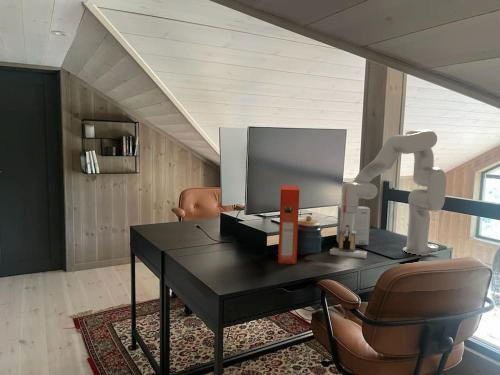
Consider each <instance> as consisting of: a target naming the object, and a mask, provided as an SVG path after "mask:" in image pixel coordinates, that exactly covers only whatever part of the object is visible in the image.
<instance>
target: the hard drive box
mask: <svg viewBox="0 0 500 375" xmlns="http://www.w3.org/2000/svg"><path fill="white" fill-rule="evenodd" d="M371 211H372V210H371V208H369V207H368V206H358V213H357V214H355V219H354V228H353V231H356V240H355V245H360V246H369V243H370V242H369V241H370V240H369V239H370V224H371ZM342 216H343V213H342V212H341V205H337V218H336V219H337V221H336V225H337V224H338V227H337V226H336V242H337V244H339V235H340V230H341V228H342Z"/></svg>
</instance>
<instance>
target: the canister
mask: <svg viewBox="0 0 500 375" xmlns="http://www.w3.org/2000/svg"><path fill="white" fill-rule="evenodd" d="M322 231H323V227H321V222H319V221H318V220H316V219H313V218H312V216H311V215H307V216H306V218H302V219H301V218H300V220H299V219H298V238H297V255H301V256H307V255H308V254H317V253H320V252H322V237H323V235H322Z"/></svg>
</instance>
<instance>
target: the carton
mask: <svg viewBox="0 0 500 375" xmlns="http://www.w3.org/2000/svg"><path fill="white" fill-rule="evenodd" d="M348 234H350V233H348ZM343 240H344V233H342V234H341V230H340V235H339V243H338V248H339V250H342V251H350V252H354V251H355V250H356V244H355V240H356V231H353V232H352V234H351V235H350V250H346V249H343Z"/></svg>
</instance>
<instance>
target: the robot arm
mask: <svg viewBox="0 0 500 375" xmlns="http://www.w3.org/2000/svg"><path fill="white" fill-rule="evenodd" d="M437 142H438V136H437V133H436V132H435V131H434V130H430V129H414V130H413V129H412V130H409V131H406V132H405V133H404V134H395V135H394V134H393V135H391V136H390V137H388V138H387V140H386V141H385V143H384V144H383V146H382V147H381V149H380V150H379V152H378V153H377V155H376V156H375V158H374V159H373V160H372V161H371V162H369V163H368V164H367V165H366V166H364V168H362V169H361V170H360V171H359V172H358V174H357V175H356V177H355V178H354V180H353V181H352V182H351V181H347V182H345V181H344V182H343V184H342V186H341V187H342V188H341V189H342V191H341V202H340V203H341V205H340V206H341V212H342V213H343V216H342V228H341V234H342V233H344V240H343V249H346V250H350V235H351V234H352V232H353V228H354V219H355V214H357V213H358V207H359V199H365V200H371V199H375V198H376V196H377V195H378V190H379V189H378V187H377V186H376V185H375V184H374V183H371V181H372V180H373V179H374V178H376V177H377V176H379V175H381V174H385V173H387V172H388V171H390V170H391V169H392V168H393V166H394V165H395V163H396V162H397V160H398V159H399V157H400V155H401V154H402V155H405V154H406V155H408V154H413V156H414V160H413V161H414V162H413V174H412V175H413V176H412V178H413V179H412V180H413V182H414V184H415V185H417V186H420V187H425V188H414V189H412V190H411V191H410V193H409V194H408V199H407V200H408V225H407V236H406V246H405V247H403V248H402V251H403V252H404V251H405V252H407V254H408V253H411V254H410V255H412V254H416V255H415V256H419V255H421V256H422V257H425V256H426V257H427V256H430V255H431V251H432V252H436V253H437V252H439V247H437V246H436V247H435V246H430V245H429V232H430V225H431V224H430V222H431V214H430V212H438V211H441V209H442V208H443V207H444V204H445V202H446V194H447V192H446V191H447V175H446V173H445V171H444V170H443V169H442V168H439V167H434V165H435V164H434V163H435V161H434V157H435V156H434V151H433V149H432V148H434V147H435V146H436V145H437ZM426 188H427V189H426ZM348 233H350V234H348ZM405 252H404V253H405Z"/></svg>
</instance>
